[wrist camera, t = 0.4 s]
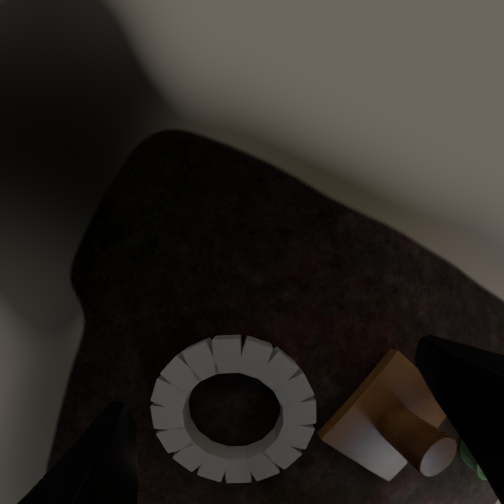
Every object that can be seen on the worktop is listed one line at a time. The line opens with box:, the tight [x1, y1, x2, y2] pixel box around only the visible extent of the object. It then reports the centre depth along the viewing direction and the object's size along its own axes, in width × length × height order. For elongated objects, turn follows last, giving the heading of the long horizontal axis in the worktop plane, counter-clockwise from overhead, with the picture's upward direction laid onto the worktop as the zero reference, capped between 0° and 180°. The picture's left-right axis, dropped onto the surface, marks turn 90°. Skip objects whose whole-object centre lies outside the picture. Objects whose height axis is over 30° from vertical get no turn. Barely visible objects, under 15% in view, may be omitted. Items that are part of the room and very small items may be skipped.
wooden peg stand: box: [317, 348, 457, 482], centre depth 17 cm, size 9×9×8 cm
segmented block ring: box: [150, 335, 316, 483], centre depth 20 cm, size 12×12×2 cm
